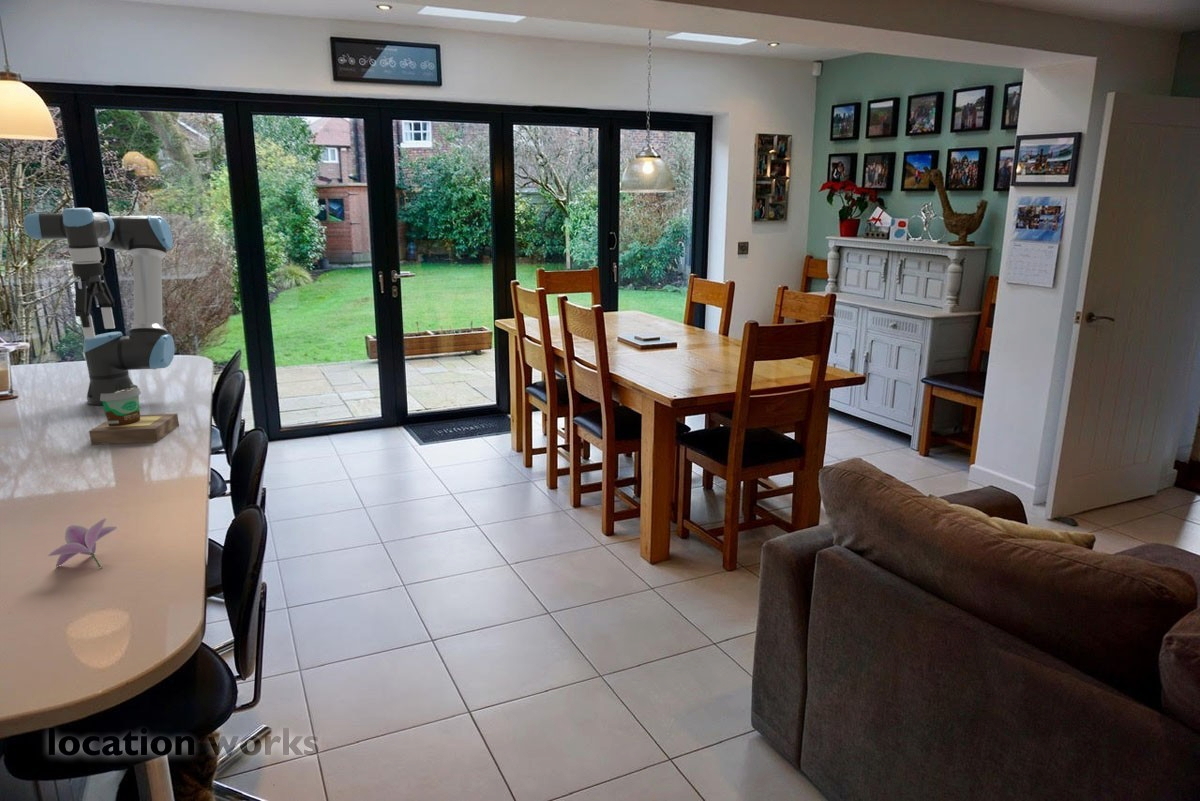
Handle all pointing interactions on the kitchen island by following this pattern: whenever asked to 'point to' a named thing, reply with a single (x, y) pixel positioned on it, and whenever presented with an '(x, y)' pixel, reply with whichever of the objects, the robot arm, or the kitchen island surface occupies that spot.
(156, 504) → the kitchen island surface
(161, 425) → the plate
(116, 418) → the food container
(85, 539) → the lily
